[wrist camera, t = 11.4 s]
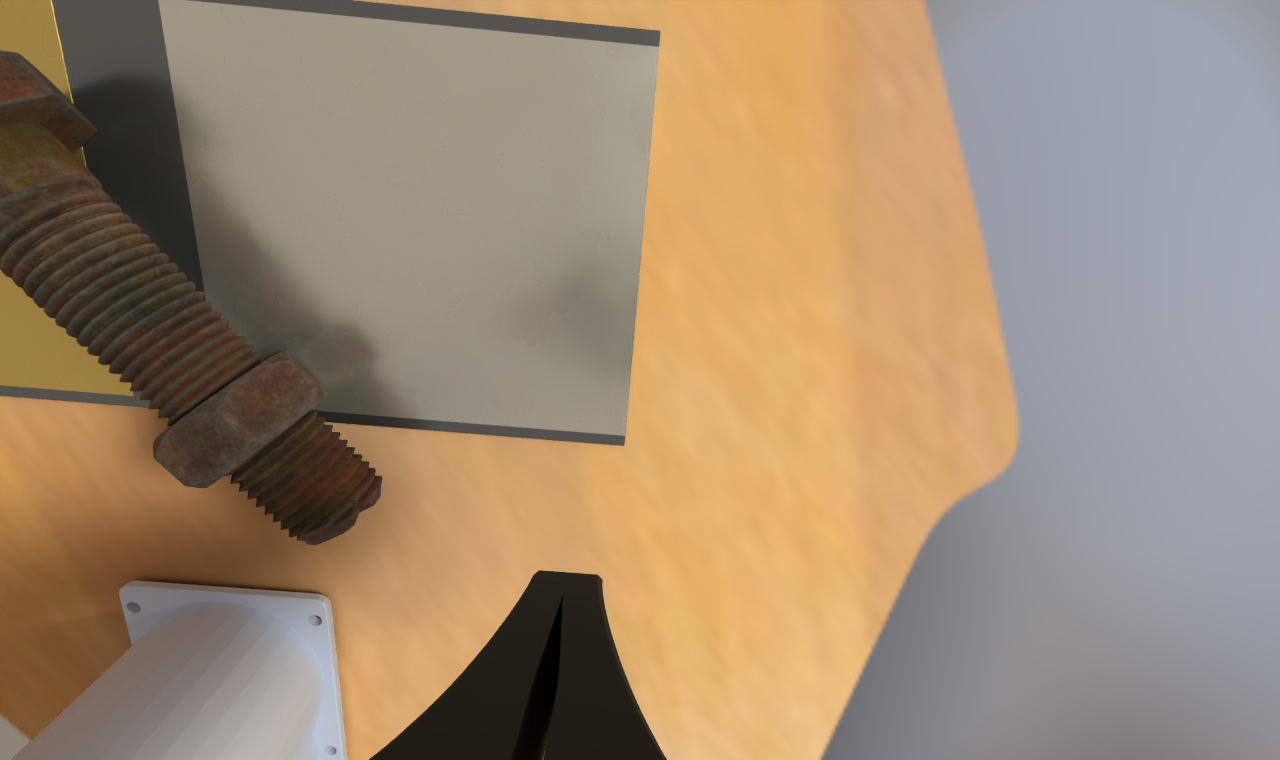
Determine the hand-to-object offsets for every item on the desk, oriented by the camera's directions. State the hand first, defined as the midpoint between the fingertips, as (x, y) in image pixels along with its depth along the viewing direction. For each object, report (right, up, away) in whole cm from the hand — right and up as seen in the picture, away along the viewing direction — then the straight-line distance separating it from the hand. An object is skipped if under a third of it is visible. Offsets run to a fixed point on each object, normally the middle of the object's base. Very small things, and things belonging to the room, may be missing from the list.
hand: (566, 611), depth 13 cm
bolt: (-12, +7, +7) cm, 16 cm away
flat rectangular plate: (-12, +10, +6) cm, 17 cm away
